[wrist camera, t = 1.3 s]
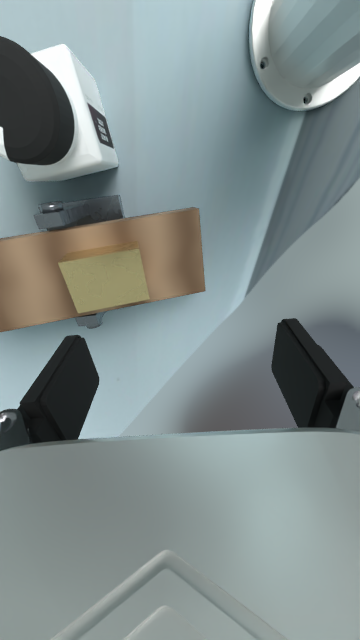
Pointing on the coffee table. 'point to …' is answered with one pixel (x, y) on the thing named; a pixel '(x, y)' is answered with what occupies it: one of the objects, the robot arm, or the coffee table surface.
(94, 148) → the container
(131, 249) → the slider
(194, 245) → the beam
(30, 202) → the coffee table surface
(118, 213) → the stand
